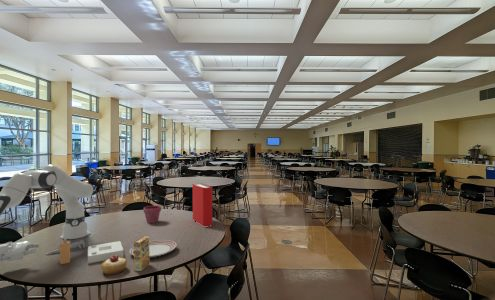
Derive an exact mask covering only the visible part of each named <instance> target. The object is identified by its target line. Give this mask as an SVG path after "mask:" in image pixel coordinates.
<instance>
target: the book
mask: <svg viewBox="0 0 495 300" xmlns="http://www.w3.org/2000/svg"><path fill="white" fill-rule="evenodd" d="M193 219H194V220H195V221H197V222H198V223H200V224H201V225H203V226H210V225H212V226H213V186H211V185H207V184H204V183H199V184H194V183H193V184H192V220H193ZM195 221H194V222H195ZM198 223H197V224H198Z"/></svg>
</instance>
